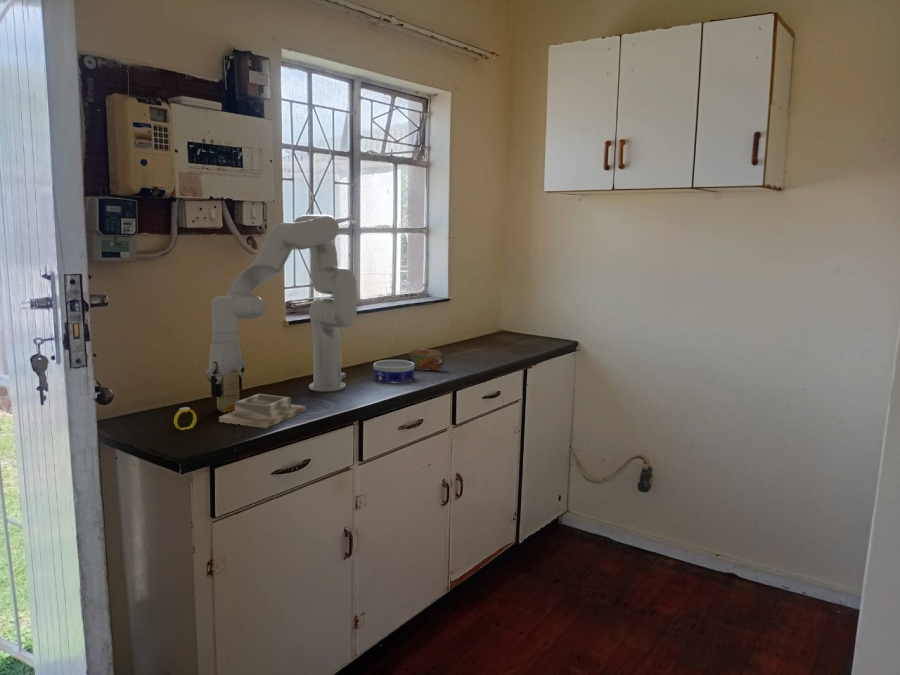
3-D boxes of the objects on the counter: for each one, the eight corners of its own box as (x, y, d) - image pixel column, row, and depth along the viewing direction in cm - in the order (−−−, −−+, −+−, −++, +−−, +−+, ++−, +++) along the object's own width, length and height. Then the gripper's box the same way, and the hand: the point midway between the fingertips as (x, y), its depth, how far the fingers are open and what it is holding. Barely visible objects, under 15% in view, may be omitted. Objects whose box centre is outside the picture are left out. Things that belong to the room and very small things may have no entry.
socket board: (260, 405, 214) (260, 389, 213) (305, 410, 208) (305, 394, 207) (219, 422, 195) (218, 405, 194) (266, 428, 190) (266, 410, 189)
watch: (178, 433, 185) (175, 412, 184) (173, 431, 187) (170, 410, 185) (199, 427, 189) (196, 406, 188) (194, 425, 191) (191, 404, 190)
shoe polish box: (232, 406, 212) (231, 369, 210) (239, 410, 208) (238, 371, 206) (217, 409, 208) (215, 371, 206) (224, 412, 205) (223, 373, 203)
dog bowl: (422, 378, 257) (422, 362, 256) (397, 385, 244) (397, 369, 243) (391, 373, 265) (391, 358, 264) (364, 380, 253) (364, 364, 252)
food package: (406, 369, 272) (407, 348, 270) (409, 368, 275) (409, 347, 273) (443, 372, 268) (443, 350, 267) (445, 370, 271) (445, 349, 270)
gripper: (233, 333, 214) (234, 386, 216) (195, 340, 198) (197, 397, 200) (253, 334, 211) (254, 388, 214) (217, 342, 195) (218, 400, 198)
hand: (227, 393), depth 207 cm, fingers open, 9 cm apart
